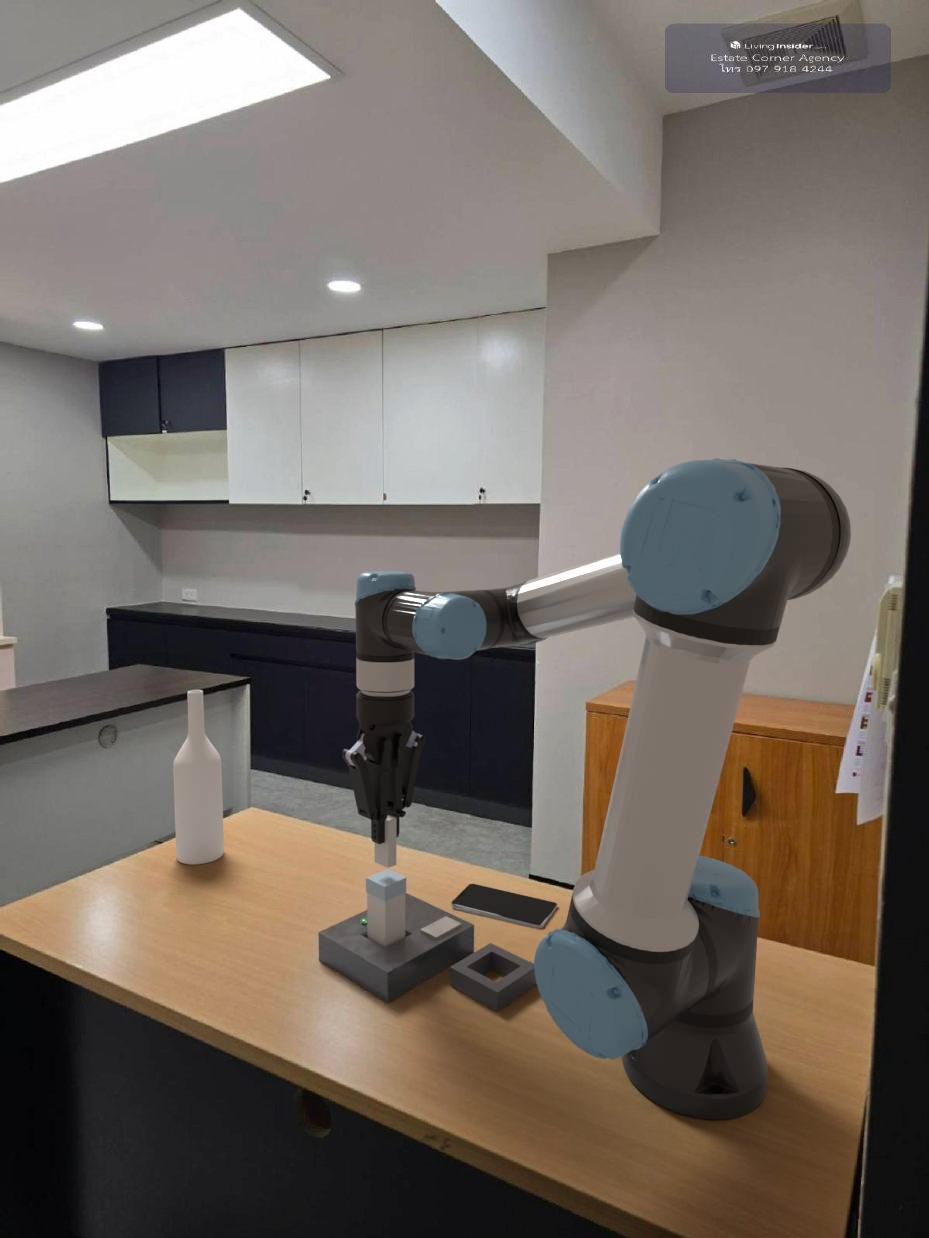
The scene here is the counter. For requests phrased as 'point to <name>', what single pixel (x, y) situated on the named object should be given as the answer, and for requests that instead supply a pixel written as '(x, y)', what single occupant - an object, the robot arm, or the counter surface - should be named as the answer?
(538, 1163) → the counter surface
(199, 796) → the bottle
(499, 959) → the grey square ring
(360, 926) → the panel
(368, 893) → the plug
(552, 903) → the smartphone
